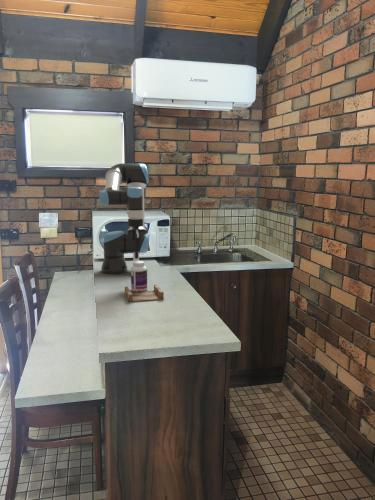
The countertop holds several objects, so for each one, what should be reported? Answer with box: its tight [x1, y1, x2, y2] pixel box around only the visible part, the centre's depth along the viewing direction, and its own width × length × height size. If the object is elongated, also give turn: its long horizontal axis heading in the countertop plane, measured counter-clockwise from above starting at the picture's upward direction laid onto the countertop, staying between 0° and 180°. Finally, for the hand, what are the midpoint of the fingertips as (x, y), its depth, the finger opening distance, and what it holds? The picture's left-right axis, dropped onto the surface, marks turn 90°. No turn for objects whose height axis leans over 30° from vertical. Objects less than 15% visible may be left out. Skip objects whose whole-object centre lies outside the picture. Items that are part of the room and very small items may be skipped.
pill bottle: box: [130, 260, 148, 292], centre depth 211 cm, size 8×8×14 cm
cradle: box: [124, 284, 165, 303], centre depth 202 cm, size 14×16×4 cm
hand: (136, 264), depth 217 cm, fingers closed
